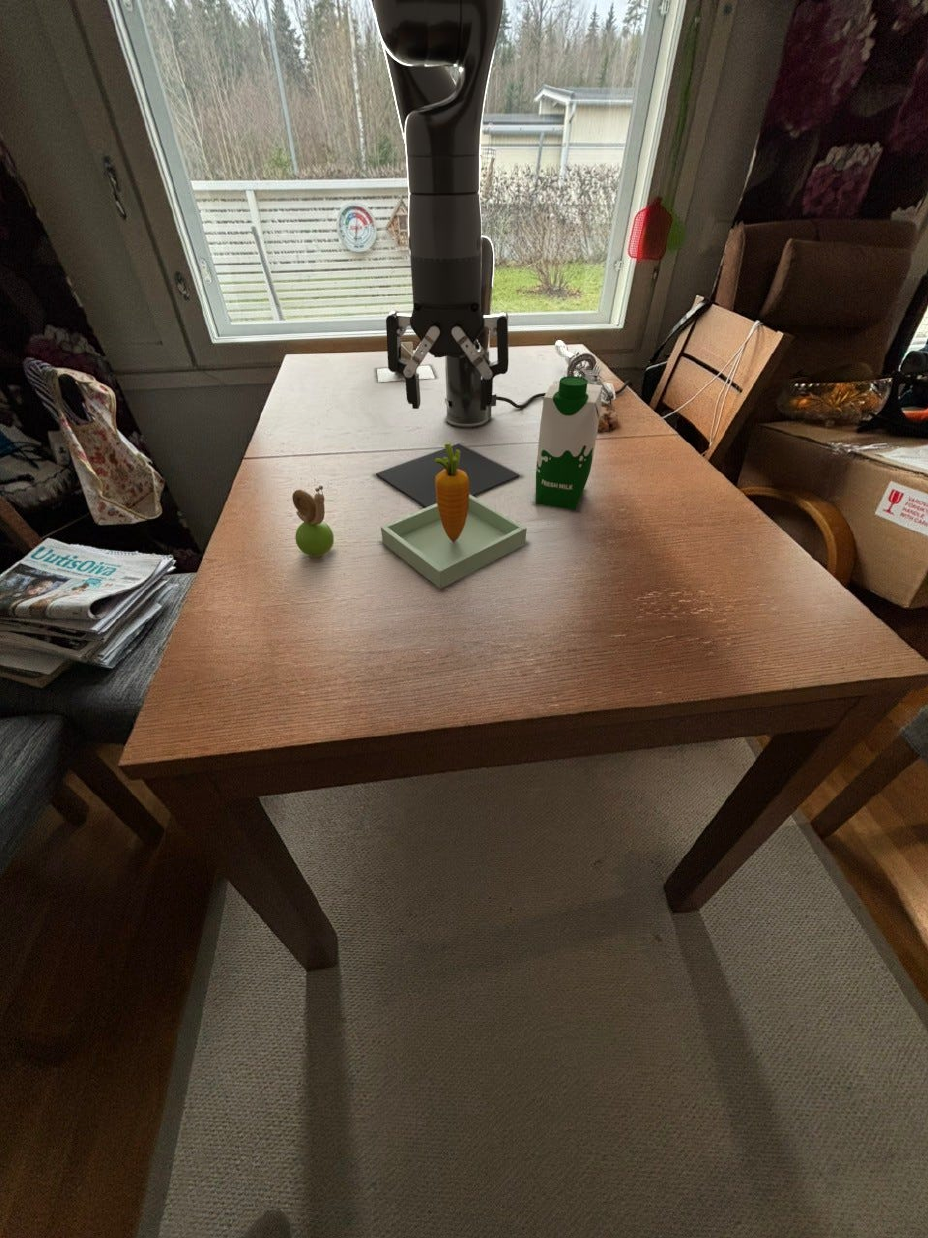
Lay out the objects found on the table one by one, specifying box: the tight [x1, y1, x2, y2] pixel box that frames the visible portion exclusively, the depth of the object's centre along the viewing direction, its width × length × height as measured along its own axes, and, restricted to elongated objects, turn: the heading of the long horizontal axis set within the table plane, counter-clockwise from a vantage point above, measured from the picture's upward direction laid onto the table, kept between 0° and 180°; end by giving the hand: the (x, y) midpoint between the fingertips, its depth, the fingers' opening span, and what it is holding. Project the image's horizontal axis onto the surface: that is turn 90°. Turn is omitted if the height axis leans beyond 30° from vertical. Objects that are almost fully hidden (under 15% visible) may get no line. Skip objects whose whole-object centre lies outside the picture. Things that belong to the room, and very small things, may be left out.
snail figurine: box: [291, 485, 335, 557], centre depth 72 cm, size 5×6×12 cm
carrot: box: [435, 442, 469, 542], centre depth 72 cm, size 5×5×15 cm
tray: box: [380, 494, 528, 590], centre depth 77 cm, size 17×15×3 cm
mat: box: [375, 443, 520, 508], centre depth 94 cm, size 20×18×1 cm
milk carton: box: [535, 375, 602, 511], centre depth 81 cm, size 9×9×20 cm
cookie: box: [598, 405, 619, 432], centre depth 110 cm, size 10×11×3 cm
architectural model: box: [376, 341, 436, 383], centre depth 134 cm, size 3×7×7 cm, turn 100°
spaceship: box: [554, 339, 617, 406], centre depth 126 cm, size 8×35×8 cm
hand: (449, 407), depth 64 cm, fingers open, 8 cm apart
